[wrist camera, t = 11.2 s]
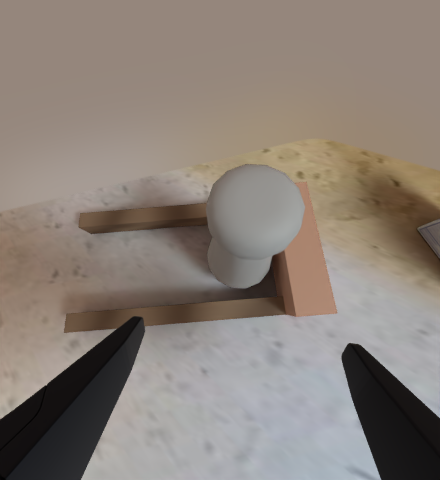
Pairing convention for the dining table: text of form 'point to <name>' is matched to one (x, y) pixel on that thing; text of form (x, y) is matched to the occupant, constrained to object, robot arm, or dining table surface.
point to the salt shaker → (251, 222)
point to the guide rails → (170, 313)
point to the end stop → (304, 269)
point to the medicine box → (432, 235)
